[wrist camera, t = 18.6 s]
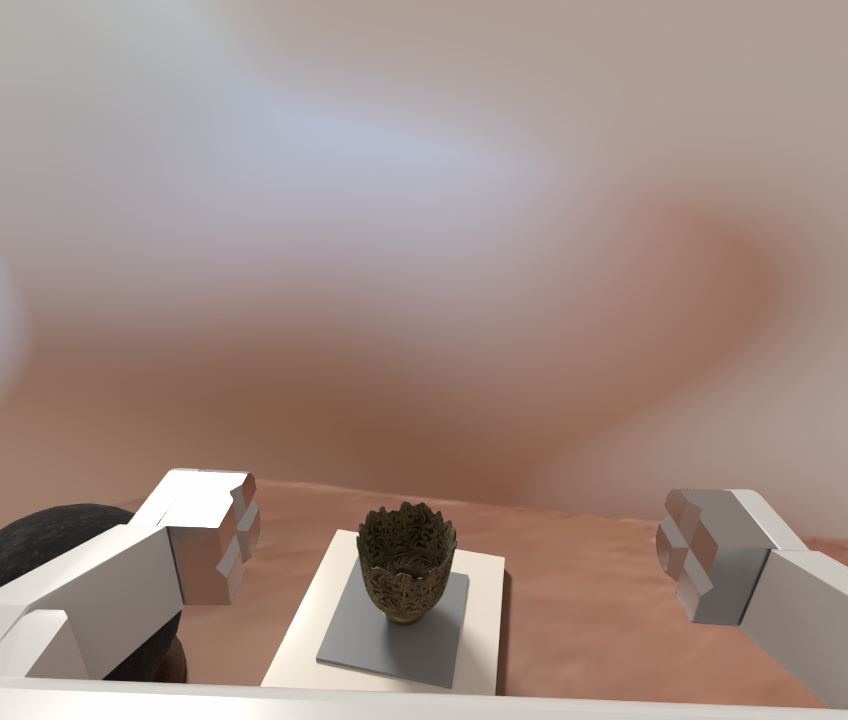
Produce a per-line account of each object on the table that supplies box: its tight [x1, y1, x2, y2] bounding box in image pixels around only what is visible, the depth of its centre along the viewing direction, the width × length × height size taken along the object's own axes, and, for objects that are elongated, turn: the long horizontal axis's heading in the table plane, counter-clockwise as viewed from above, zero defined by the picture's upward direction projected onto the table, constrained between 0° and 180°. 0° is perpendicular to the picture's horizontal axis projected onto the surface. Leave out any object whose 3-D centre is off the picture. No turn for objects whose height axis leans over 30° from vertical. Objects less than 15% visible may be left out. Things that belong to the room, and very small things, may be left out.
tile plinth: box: [260, 530, 505, 696], centre depth 41 cm, size 16×16×2 cm
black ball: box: [0, 504, 187, 684], centre depth 33 cm, size 13×13×15 cm
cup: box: [356, 501, 457, 626], centre depth 39 cm, size 8×7×8 cm
